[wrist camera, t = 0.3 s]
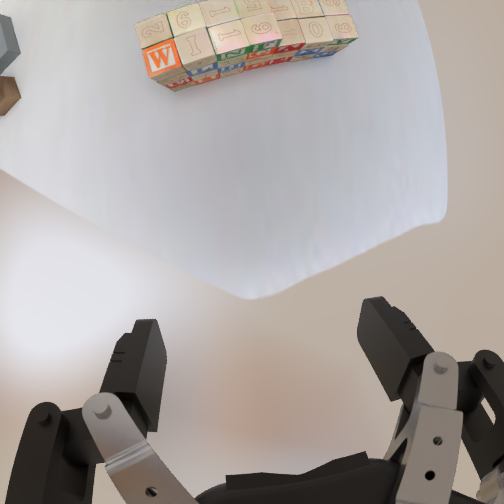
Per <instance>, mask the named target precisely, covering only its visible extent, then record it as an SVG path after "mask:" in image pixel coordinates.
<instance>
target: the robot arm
mask: <svg viewBox="0 0 504 504" xmlns="http://www.w3.org/2000/svg"><path fill="white" fill-rule="evenodd" d="M357 337H358V341H359V343H360V346H361V347H362V349H363V351H364V352H365V354H366V356H367V358H368V360H369V361H370V363H371V365H372V367H373V369H374V371H375V373H376V375H377V376H378V378H379V380H380V382H381V384H382V386H383V388H384V390H385V392H386V393H387V395H388V397H389V399H390V401H391V402H392V401H395V400H398V399H402V401H403V404H402V406H401V409H400V413H399V417H398V420H397V424H396V427H395V431H394V434H393V437H392V440H391V443H390V446H389V448H388V450H387V452H386V454H385V456H384V458H383V459H374V458H369V459H368V457H367V454H366V451H364V452H361V453H357V454H354V455H350V456H347V457H343V458H339V459H335V460H332V461H330V462H328V463H326V464H324V465H322V466H320V467H317V468H315V469H313V470H311V471H308V472H306V473H304V474H300V475H289V474H274V473H263V472H261V473H252V474H239V475H226V483H223V484H220V485H217V486H215V487H212V488H210V489H208V490H206V491H204V492H203V493H201V494H200V495H198V496H197V497H196V498H193V497H192V496H191V495H190V494H189V492H188V491H187V490H186V489H185V488H184V487H183V486H182V484H181V483H180V482H179V481H178V480H177V479H176V477H175V476H174V475H173V474H172V473H171V471H170V470H169V469H168V468H167V467H166V465H165V464H164V463H163V461H162V460H161V459H160V458H159V456H158V455H157V454H156V452H155V451H154V450H153V448H152V447H151V446H150V445H149V443H148V442H147V440H146V438H147V432H157V428H158V420H159V412H160V404H161V397H162V390H163V382H164V377H165V370H166V364H167V356H166V349H165V346H164V342H163V339H162V336H161V332H160V329H159V325H158V322H157V320H156V319H143V320H142V319H141V320H136V322H135V324H134V328H133V330H132V333H125V334H124V335H123V336H122V337H121V338H120V339H119V340H118V341H117V343H116V346H115V348H114V351H113V354H112V357H111V359H110V363H109V365H108V368H107V371H106V374H105V377H104V380H103V383H102V386H101V389H100V392H99V393H98V394H95V395H93V396H91V397H90V398H89V399H88V400H87V401H86V402H85V403H84V406H83V407H82V408H78V409H72V410H67V411H61V410H60V409H59V408H58V406H57V405H55V404H54V403H51V402H43V403H40V404H38V405H36V406H35V407H34V408H33V409H32V410H31V412H30V414H29V416H28V419H27V422H26V425H25V428H24V431H23V434H22V437H21V440H20V443H19V447H18V450H17V454H16V457H15V461H14V465H13V468H12V472H11V477H10V481H9V485H8V490H7V495H6V501H5V504H92V494H93V485H94V476H95V468H96V464H98V463H104V462H106V466H105V469H106V471H107V473H108V475H109V477H110V478H111V480H112V482H113V483H114V485H115V487H116V488H117V490H118V491H119V493H120V495H121V496H122V498H123V499H124V501H125V502H126V504H504V362H503V361H502V360H501V358H500V357H499V356H498V355H497V354H496V353H494V352H492V351H490V350H480V351H478V352H477V353H476V355H475V357H474V358H473V360H472V361H465V362H456V360H455V359H454V358H453V357H452V356H450V355H449V354H446V353H444V352H435V351H434V350H433V348H432V347H431V346H430V345H429V343H428V342H427V341H426V340H425V338H424V337H423V335H422V334H421V333H420V332H419V330H418V329H416V327H415V325H414V324H413V323H411V320H410V319H409V318H408V317H407V315H406V314H405V313H404V312H402V311H401V310H399V309H398V308H396V307H394V306H393V307H391V306H390V304H389V303H388V302H387V301H386V300H385V298H384V297H382V296H380V297H374V298H367V299H364V300H363V303H362V308H361V313H360V318H359V323H358V327H357ZM484 397H485V398H486V400H487V402H488V403H489V405H490V406H491V408H492V410H493V411H494V413H495V417H496V420H495V424H494V425H493V423H492V421H491V420H490V418H489V416H488V414H487V413H486V411H485V409H484V408H483V406H482V404H481V402H482V400H483V399H484ZM461 439H462V440H463V443H464V445H465V447H466V449H467V451H468V453H469V455H470V457H471V460H472V462H473V464H474V466H475V468H476V470H477V473H478V475H479V478H480V480H481V483H480V490H479V491H478V492H477V494H476V498H477V500H476V499H473V498H471V497H468V496H466V495H463V494H461V493H459V492H456V491H454V490H452V486H453V481H454V476H455V471H456V465H457V461H458V454H459V448H460V441H461Z"/></svg>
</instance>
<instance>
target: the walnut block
mask: <svg viewBox="0 0 504 504" xmlns="http://www.w3.org/2000/svg"><path fill="white" fill-rule="evenodd" d="M20 98H21V95H20V92H19V90H18V87H17V84H16V81H15V78H14V77H5V76H0V116H3V115H5V114H6V113H7V112H8V111H9V110H10V109H11V108H12V107H13V105H14V104H15V103H16V102H17V101H18V100H19V99H20Z"/></svg>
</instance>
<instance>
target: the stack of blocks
mask: <svg viewBox="0 0 504 504" xmlns="http://www.w3.org/2000/svg"><path fill="white" fill-rule="evenodd" d="M135 27H136V31H137V35H138V39H139V43H140V47H141V49H142V53H143V57H144V61H145V64H146V68H147V71H148V75H149V77H150V78H151V79H153V80H155V81H157V83H159V84H161V85H163V86H166V87H168V88H170V90H172V91H178V90H181V89H184V88H187V87H190V86H193V85H196V84H197V85H198V84H201V83H204V82H208V81H211V80H215V79H218V78H222V77H226V76H230V75H233V74H237V73H241V72H243V71H245V70H250V69H254V68H259V67H263V66H266V65H271V64H276V63H281V62H287V61H289V62H291V61H298V60H304V59H311V58H317V57H324V56H331V55H333V54H335V53H336V52H338V51H339V50H342V49H343V48H345V47H346V46H348V45H349V43H351V42H352V41H354V40H356V39H357V38H359V37H358V34H357V32H356V29H355V26H354V23H353V20H352V18H351V15H349V11H348V9H347V6H346V4H345V1H344V0H208V1H204V2H201V3H195V4H191V5H188V6H185V7H182V8H179V9H176V10H173V11H170V12H168V13H163V14H160V15H157V16H155V17H152V18H149V19H147V20H144V21H142V22H139V23H137V24H136V25H135Z"/></svg>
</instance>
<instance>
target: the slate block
mask: <svg viewBox="0 0 504 504" xmlns="http://www.w3.org/2000/svg"><path fill="white" fill-rule="evenodd" d="M20 53H21V52H20V49H19V46H18V42H17V39H16V35H15V32H14V28H13V24H12V20H11V18H10V17H7V16H4V15H1V14H0V75H1V74H2V72H3V71H4V70H5V69H6V68H7V67H8V66H9V65H10V64H11V63H12V62H13V60H14V59H15V58H16V57H17V56H18V55H19V54H20Z"/></svg>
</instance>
